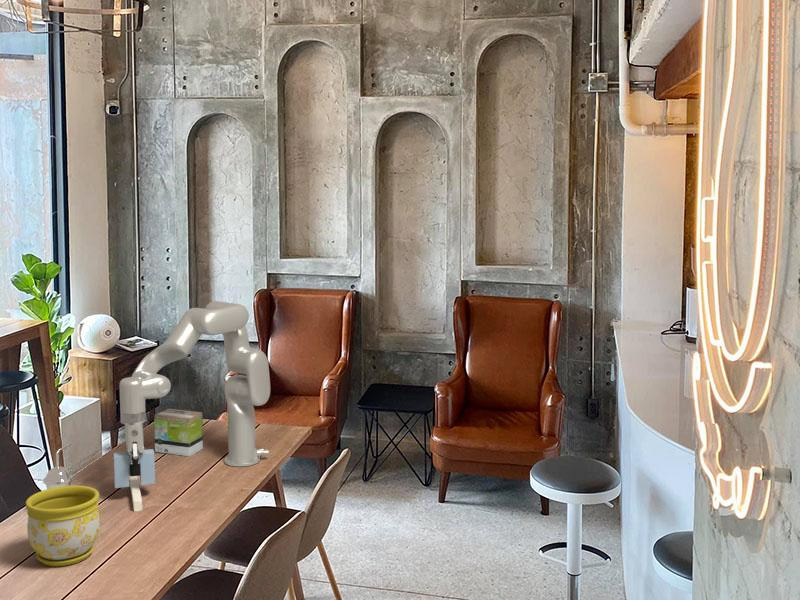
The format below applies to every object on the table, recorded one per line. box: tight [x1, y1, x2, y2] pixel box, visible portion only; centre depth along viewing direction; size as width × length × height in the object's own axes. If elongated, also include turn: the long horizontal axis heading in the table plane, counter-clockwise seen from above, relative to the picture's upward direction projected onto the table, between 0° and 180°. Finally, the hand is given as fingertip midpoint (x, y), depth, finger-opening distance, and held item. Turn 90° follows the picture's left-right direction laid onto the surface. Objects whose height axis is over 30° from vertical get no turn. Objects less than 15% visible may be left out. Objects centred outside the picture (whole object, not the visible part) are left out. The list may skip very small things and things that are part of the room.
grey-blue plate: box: [113, 448, 156, 489], centre depth 260 cm, size 12×4×10 cm, turn 111°
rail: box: [129, 476, 143, 512], centre depth 261 cm, size 2×24×3 cm, turn 21°
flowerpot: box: [25, 485, 101, 567], centre depth 218 cm, size 18×18×16 cm
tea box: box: [153, 408, 204, 458], centre depth 308 cm, size 15×10×15 cm
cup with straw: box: [43, 442, 74, 490], centre depth 249 cm, size 8×9×20 cm
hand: (134, 472), depth 260 cm, fingers closed on grey-blue plate, 4 cm apart
